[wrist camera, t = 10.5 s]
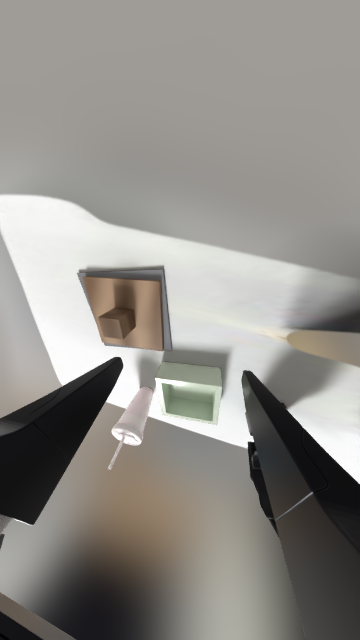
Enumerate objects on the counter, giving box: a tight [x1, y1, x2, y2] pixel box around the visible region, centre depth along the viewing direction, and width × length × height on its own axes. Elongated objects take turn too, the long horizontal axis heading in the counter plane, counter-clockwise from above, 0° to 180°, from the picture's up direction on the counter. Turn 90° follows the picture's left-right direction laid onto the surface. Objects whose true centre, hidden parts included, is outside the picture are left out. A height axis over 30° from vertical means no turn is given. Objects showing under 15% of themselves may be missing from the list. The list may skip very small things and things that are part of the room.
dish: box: [155, 362, 222, 425], centre depth 28 cm, size 12×12×4 cm
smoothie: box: [108, 387, 153, 470], centre depth 28 cm, size 6×6×14 cm
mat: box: [77, 269, 172, 351], centre depth 24 cm, size 15×15×1 cm
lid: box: [82, 276, 164, 351], centre depth 22 cm, size 13×13×5 cm
